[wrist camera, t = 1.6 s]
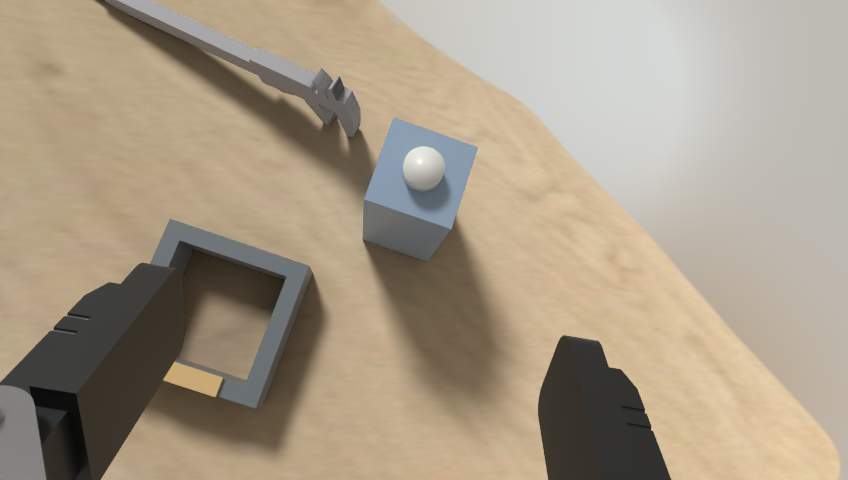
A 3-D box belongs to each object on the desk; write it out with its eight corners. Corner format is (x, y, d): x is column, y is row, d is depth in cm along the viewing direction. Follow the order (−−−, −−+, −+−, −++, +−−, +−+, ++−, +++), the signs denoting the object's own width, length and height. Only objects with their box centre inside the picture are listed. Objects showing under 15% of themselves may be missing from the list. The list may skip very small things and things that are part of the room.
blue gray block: (427, 261, 38) (454, 224, 27) (362, 239, 38) (364, 193, 27) (448, 199, 39) (482, 140, 28) (384, 177, 39) (394, 109, 28)
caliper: (360, 128, 40) (361, 86, 33) (353, 141, 39) (352, 101, 33) (99, -17, 39) (51, -85, 33) (89, -5, 39) (40, -71, 33)
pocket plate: (263, 405, 35) (254, 409, 32) (128, 361, 35) (105, 361, 32) (312, 272, 37) (308, 265, 34) (184, 229, 37) (168, 217, 33)
